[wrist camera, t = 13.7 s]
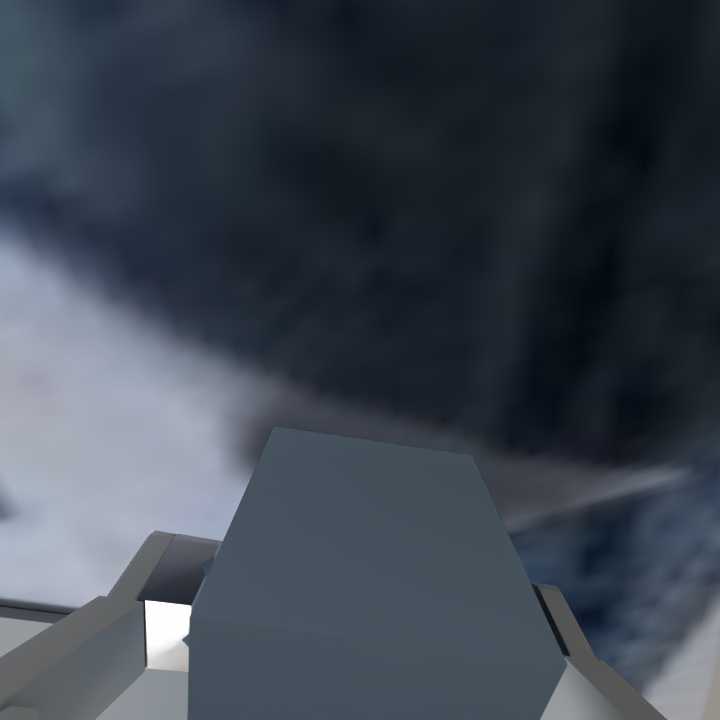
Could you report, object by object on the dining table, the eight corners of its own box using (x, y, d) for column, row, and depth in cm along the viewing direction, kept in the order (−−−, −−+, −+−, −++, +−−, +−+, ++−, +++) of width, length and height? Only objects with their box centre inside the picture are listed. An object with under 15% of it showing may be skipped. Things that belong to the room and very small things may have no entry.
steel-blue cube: (274, 424, 10) (189, 616, 5) (471, 453, 10) (567, 664, 5) (259, 574, 11) (184, 825, 7) (428, 596, 12) (470, 855, 7)
